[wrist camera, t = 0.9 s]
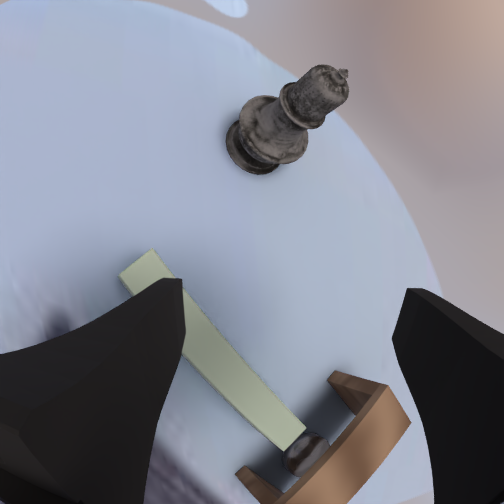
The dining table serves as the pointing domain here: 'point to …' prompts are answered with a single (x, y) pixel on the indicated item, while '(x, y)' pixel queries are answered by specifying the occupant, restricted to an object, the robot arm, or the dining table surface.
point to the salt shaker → (285, 120)
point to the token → (304, 453)
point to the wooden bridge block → (343, 448)
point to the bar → (220, 361)
